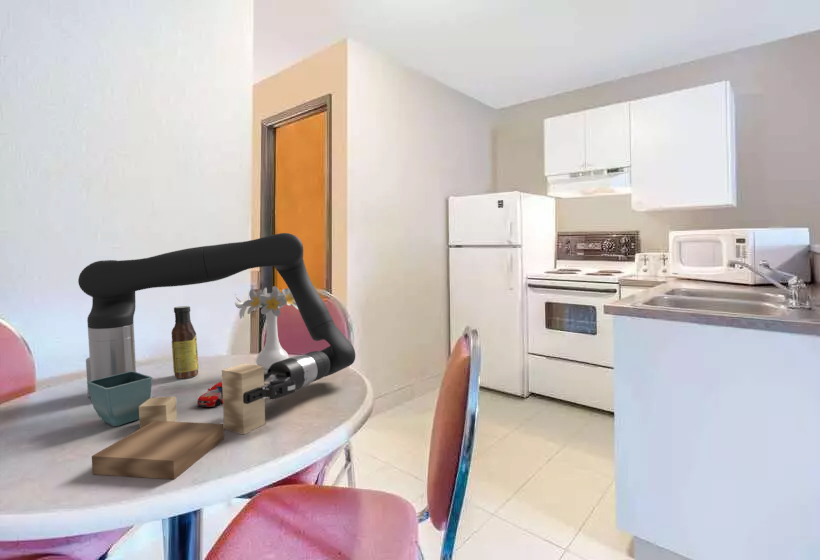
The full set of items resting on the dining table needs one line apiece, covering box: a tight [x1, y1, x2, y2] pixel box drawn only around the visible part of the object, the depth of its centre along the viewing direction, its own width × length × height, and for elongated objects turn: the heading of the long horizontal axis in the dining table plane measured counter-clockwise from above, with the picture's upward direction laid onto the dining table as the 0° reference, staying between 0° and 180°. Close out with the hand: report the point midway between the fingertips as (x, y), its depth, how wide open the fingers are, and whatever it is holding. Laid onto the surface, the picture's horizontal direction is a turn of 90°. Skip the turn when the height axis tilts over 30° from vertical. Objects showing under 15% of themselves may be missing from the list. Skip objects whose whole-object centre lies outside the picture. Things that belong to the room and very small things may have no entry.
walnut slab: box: [91, 421, 225, 480], centre depth 73 cm, size 14×14×3 cm
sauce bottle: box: [171, 305, 199, 379], centre depth 119 cm, size 6×6×20 cm
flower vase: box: [234, 285, 299, 372], centre depth 124 cm, size 13×18×25 cm
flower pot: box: [86, 371, 153, 427], centre depth 88 cm, size 9×9×9 cm
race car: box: [196, 381, 223, 408], centre depth 101 cm, size 13×5×4 cm, turn 162°
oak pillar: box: [221, 363, 266, 435], centre depth 85 cm, size 6×6×12 cm
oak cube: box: [138, 396, 178, 429], centre depth 86 cm, size 5×5×5 cm
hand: (233, 396), depth 83 cm, fingers closed on oak pillar, 5 cm apart
